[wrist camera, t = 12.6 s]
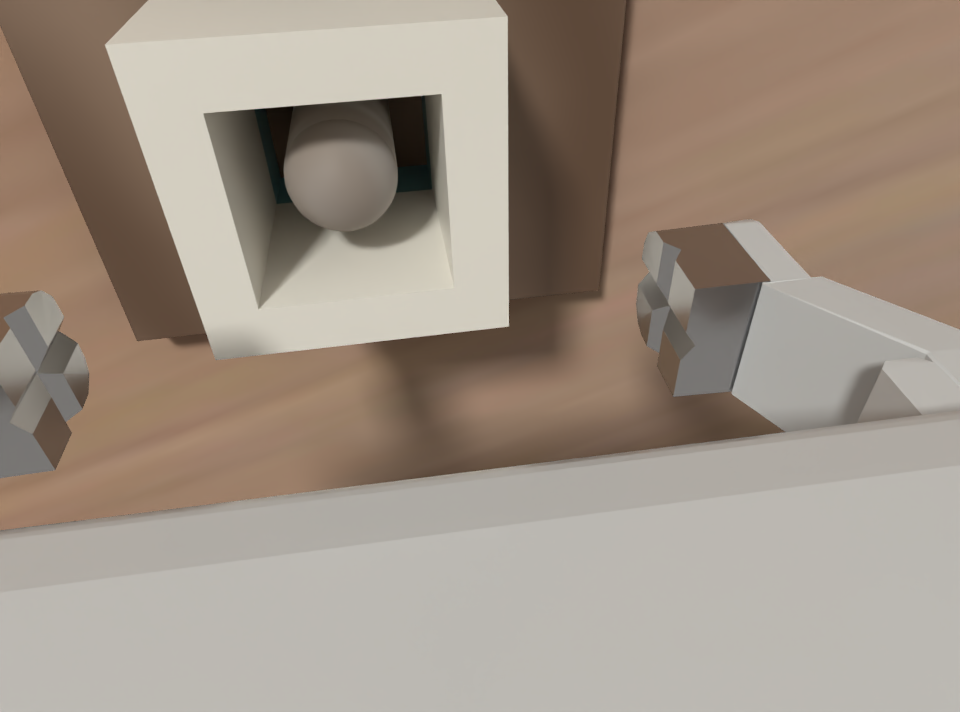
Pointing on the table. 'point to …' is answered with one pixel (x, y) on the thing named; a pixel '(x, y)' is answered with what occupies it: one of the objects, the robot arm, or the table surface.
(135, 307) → the pin board
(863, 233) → the table surface
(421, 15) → the cream sleeve
